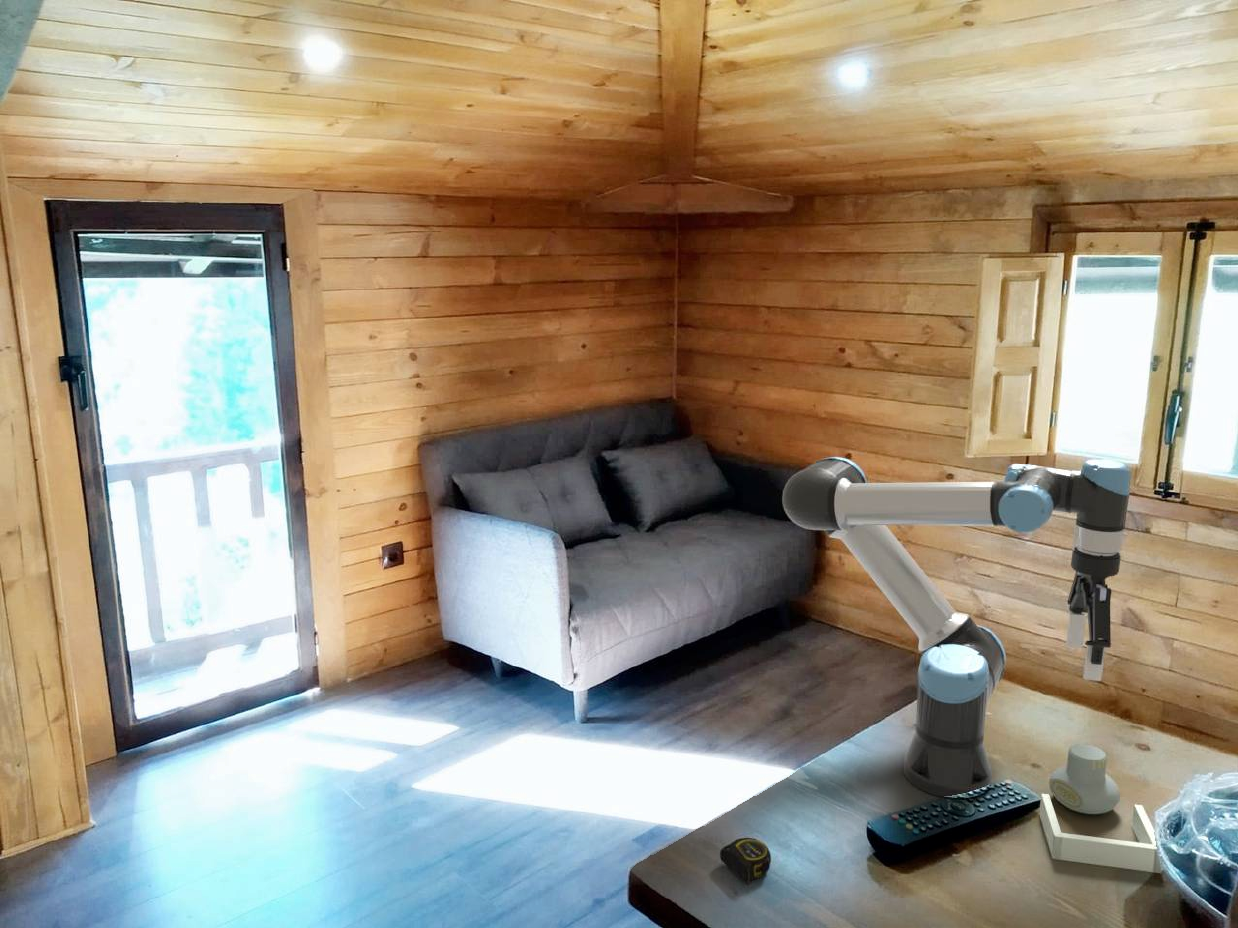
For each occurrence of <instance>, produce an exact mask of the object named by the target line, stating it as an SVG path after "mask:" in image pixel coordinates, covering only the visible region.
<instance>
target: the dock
mask: <svg viewBox="0 0 1238 928" xmlns="http://www.w3.org/2000/svg"><path fill="white" fill-rule="evenodd" d="M1132 810H1133V812H1132V820H1131V829H1133V832H1134V834H1135V837H1136V838H1137V841H1138V842H1137V841H1129V840H1120V839H1114V838H1105V837H1097V836H1092V835H1091V836H1090V835H1082V834H1075V833H1065V832H1062V831H1061V827H1060V824H1059V822H1058V818H1057V815H1056V811H1055V809H1054V806H1053V803H1052V800H1051V796H1050V794H1048V793H1041V794H1040V803H1039V818H1040V822H1041V824H1042V828H1043V832H1044V835H1045V839H1046V842H1047V844H1048V848H1049V851H1050V855H1051V859H1052V860H1057V861H1058V860H1059V861H1065V862H1067V861H1068V862H1074V863H1082V864H1088V865H1097V866H1104V867H1111V868H1118V869H1127V870H1132V871H1133V870H1135V871H1140V872H1149V873H1156V874H1162V869H1163V866H1162V867H1161V863H1160V859H1159V856H1158V852H1157V847H1156V841H1155V835H1154V832H1155V833H1156V830H1155V829H1154V827H1153V824H1152V823H1151V820H1150V819H1149V817H1148V814H1147V812H1146V811H1145V808H1144V806H1143V805H1141V804H1133V809H1132Z"/></svg>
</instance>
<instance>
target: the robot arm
mask: <svg viewBox="0 0 1238 928" xmlns="http://www.w3.org/2000/svg"><path fill="white" fill-rule="evenodd" d="M1131 475H1132V472H1131V469H1130V467H1129V466H1128V465H1127V464H1125V463H1123V462H1120V461H1115V460H1110V459H1089V460H1085V461H1084V462H1083V464H1082V467H1081V469H1066V468H1058V467H1051V466H1050V467H1049V466H1042V465H1035V464H1033V463H1027V464H1024V463H1023V464H1020V463H1013V464H1011V465H1009V466H1008V467H1007V470H1006V473H1005V477H1004V481H959V482H958V481H957V482H956V481H954V482H953V481H952V482H951V481H946V482H945V481H943V482H942V481H941V482H939V481H938V482H930V481H929V482H872V483H871V482H869V483H868V482H867V478H866V476H865V473H864V471H863V470H862V468H861V467H860V466H858V464H856V463H855V462H854V461H852V460H851V459H848V458H845V457H842V456H841V457H840V456H833V457H832V456H831V457H827V458H826V457H825V458H822V459H819V460H817V461H815V462H814V463H812V464H810V465H809V466H807V467H806V468H804V469H801V470H799V471H797V472H796V473H794V474H793V475H792V476H791V477H790V478H789V479H788V480H787V482H786V484H785V485H784V488H783V490H782V496H781V497H782V498H781V499H782V500H781V501H782V502H781V503H782V507H783V510H784V512H785V514H786V515H787V517H788V518H789V519H790V520H791V521H792V522H793V524H795V525H797V526H799V527H801V528H803V529H806V530H812V531H824V532H825V533H826V535H827V536H828V537H829V538H832V539H839V540H840V541H842V543H843V544H844V545H845V546H846V548H847V549H848V550H849V552H850V553H851V554H852V555H853V556H854V557H855V559H856V560H857V561H858V563H859V564H860V565H861V567H862V568H863V570H865V572H866V573H867V574H868V575H869V577H870V578H871V579H872V580H873V581H874V583H875V584H876V586H877V587H878V588H879V589H880V590H881V592H882V593H883V595H884V596H885V597H886V598H887V599H888V600H889V602H890V603H891V604H892V606H894V608H895V609H896V610H897V612H898V613H899V615H900V616H901V617H902V618H903V619H904V621H905V622H906V623H907V624H908V626H909V627H910V628H911V629H912V631H913V632H914V633H915V635H916V636H917V637H918V639H919V640H918V648H917V650H918V651H919V652H920V654H921V655H922V656H921V657H920V661H919V666H918V667H917V668H918V669H917V680H918V682H917V694H916V695H917V698H916V716H915V717H916V718H915V732H914V734H913V737H912V739H911V741H910V744H909V745H908V748H907V750H906V752H905V755H904V759H903V774H904V776H905V778H906V780H907V781H909V783H911V784H912V785H913V786H915V787H916V788H918V789H920V790H921V791H924V792H925V793H928V794H931V795H934V796H937V797H941V796H952V795H957V794H962V793H967V792H970V791H973V790H976V789H979V788H982V787H985V786H987V785H989V784H991V785H992V775H993V774H992V768H991V763H990V761H989V757H988V753H987V750H986V746H985V744H984V739H985V738H984V737H985V726H986V725H985V724H986V712H987V711H986V710H987V706H988V703H989V700H990V699H991V696H992V695H993V693H994V691H995V689H996V687H997V685H998V684H999V682H1000V681H1001V680H1002V677H1003V676H1004V674H1005V673H1004V672H1005V667H1006V661H1007V660H1006V658H1007V656H1006V652H1005V651H1006V650H1005V647H1004V645H1003V644H1002V643H1003V642H1001V639H1000V638H999V637H998V636H997V635H996V634H995V633H994V632H993V631H992V630H991V629H989V628H987V627H984V626H981V625H977V623H976V622H975V621H974V620H973V619H972V617H971V616H970V615H969V614H968V613H964V612H958V611H956V610H955V609H954V607H952V605H951V604H950V603H949V601H948V600H947V599H946V598H945V597H944V595H943V594H942V592H941V591H939V589H938V588H937V587H936V586H935V584H934V583H933V582H932V581H931V579H930V578H929V577H928V576H927V574H926V573H925V572H924V571H923V569H921V567H920V566H919V564H918V563H917V562H916V561H915V559H914V558H913V557H912V556H911V554H909V551H908V550H906V548H905V547H904V546H903V544H902V543H901V542H900V541H899V540H898V539H897V537H896V536H895V535H894V534H893V532H892V531H891V530H890V529H889V528H888V526H942V527H943V526H946V527H947V526H949V527H951V526H952V527H953V526H959V527H961V526H962V527H965V526H967V527H969V526H970V527H971V526H972V527H1007V528H1008V529H1010V530H1012V531H1014V532H1018V533H1026V534H1027V533H1031V532H1034V531H1036V530H1038V529H1040V528H1041V527H1042V526H1044V524H1045V523H1048V522H1049V520H1050V519H1051V516H1052V514H1053V512H1060V513H1067V514H1076V519H1075V524H1074V531H1073V533H1074V534H1073V541H1072V544H1073V545H1074V547H1073V548H1072V550H1071V551H1072V552H1071V562H1070V567H1071V568H1072V570H1074V571H1075V574H1074V577H1073V581H1072V584H1071V588H1070V591H1069V593H1068V594H1069V595H1068V597H1067V601H1066V602H1067V605H1069V607H1068V609H1069V615H1068V616H1069V618H1068V625H1067V633H1066V634H1067V635H1066V640H1065V647H1067V648H1074V649H1083V648H1084V643H1085V646H1086V651H1085V658H1084V659H1085V660H1084V666H1083V676H1082V678H1083V680H1086V681H1095V682H1102V677H1103V669H1104V661H1105V654H1106V648H1108V649H1109V648H1111V645H1112V643H1111V640H1112V639H1111V597H1112V594H1113V593H1112V589H1111V588H1109V587H1108V584H1106V579H1108V578H1109V577H1110V578H1111V577H1114V576H1115V577H1116V576H1117V575H1118V574H1119V573H1120V566H1121V557H1122V555H1121V553H1120V552H1121V551H1122V548H1123V539H1126V538H1127V532H1125V525H1126V521H1127V520H1126V519H1127V513H1128V508H1129V507H1128V506H1129V499H1130V493H1131V492H1130V491H1131V489H1130V488H1131ZM1087 621H1088V635H1089V636H1088V637H1089V640H1086V641H1085V642H1084V638H1085V632H1086V623H1087Z"/></svg>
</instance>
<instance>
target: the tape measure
mask: <svg viewBox="0 0 1238 928" xmlns="http://www.w3.org/2000/svg"><path fill="white" fill-rule="evenodd" d="M719 857H720V861H721V862H722V863H723V864H724V865H725V866H726V867H727V868H729V869H730V870H731V871H732V872H733V873H735V874H736V875H737V876H738V878H740V880H741V881H742V882H744V883H746V884H748V883H751V882H752V881H753V879H759V878H762V877H763V876H764V875H766V874H767V872H768V871H769V870H770V868H771V867H770V866H771V862H772V860H771V859H772V857H771V852H770V849H769V848H768V846H767V845H766V844H765V843H764V842H762V841H760V840H759V839H756V838H754V837H753V838H752V837H741V838H738V839H736V840H734V841H732V842H731V843H729V844H728V845H725V846H723V847H722V848H721V849H720V851H719Z"/></svg>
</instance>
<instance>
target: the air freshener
mask: <svg viewBox="0 0 1238 928" xmlns="http://www.w3.org/2000/svg"><path fill="white" fill-rule="evenodd" d="M1067 753H1068V754H1067V760H1066V761H1067V763H1066V764H1065V765H1062V766H1060V767H1058V768H1057V769H1055V770H1054V771H1053V772H1052V773H1051V775H1050V776H1049V781H1048V784H1049V790H1050V791H1051V793H1052V795H1053V796H1054V797H1055V799H1056V800H1057V801H1058V802H1059V803H1061V804H1062V805H1063V806H1065V807H1066V808H1068V809H1069V810H1071V811H1073V812H1078V813H1081V814H1086V815H1101V814H1106V813H1108V812H1110V811H1112V810H1114V809H1115V807H1117V806H1118V804H1119V802H1120V800H1121V792H1120V789H1119V786H1118V785H1117V783H1116V782H1115V781H1114V779H1113V778H1112V777H1111V776H1109V774H1107V772H1106V771H1107V770H1106V769H1107V763H1108V761H1107V760H1108V756H1107V754H1106V753H1105V752H1104V750H1102V749H1101V748H1099V747H1096V746H1094V745H1090V744H1087V743H1077V744H1073V745H1071V746H1070V747H1069V748H1068V752H1067Z"/></svg>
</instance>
